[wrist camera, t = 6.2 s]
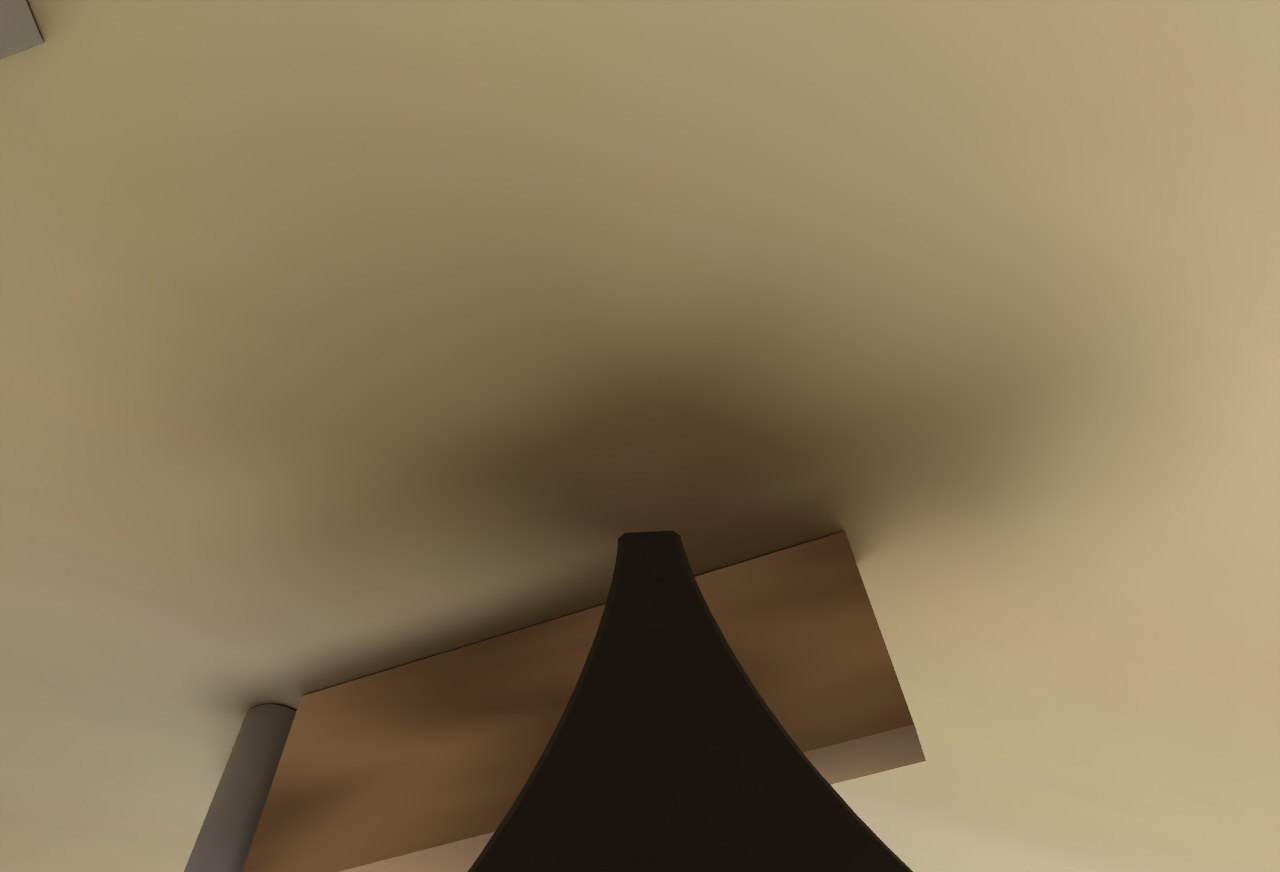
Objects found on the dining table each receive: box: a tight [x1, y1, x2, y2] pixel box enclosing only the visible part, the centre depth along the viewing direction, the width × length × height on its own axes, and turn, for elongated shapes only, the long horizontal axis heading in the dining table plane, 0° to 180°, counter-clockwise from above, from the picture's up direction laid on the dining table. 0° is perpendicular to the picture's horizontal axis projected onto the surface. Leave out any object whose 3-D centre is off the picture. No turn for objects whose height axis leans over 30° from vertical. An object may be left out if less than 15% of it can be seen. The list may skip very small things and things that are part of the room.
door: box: [242, 531, 926, 872], centre depth 15 cm, size 12×2×4 cm, turn 111°
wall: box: [0, 0, 296, 872], centre depth 12 cm, size 26×2×4 cm, turn 1°
